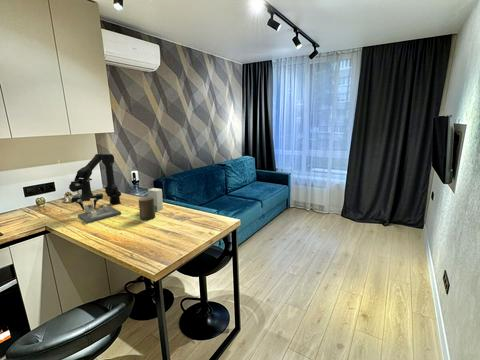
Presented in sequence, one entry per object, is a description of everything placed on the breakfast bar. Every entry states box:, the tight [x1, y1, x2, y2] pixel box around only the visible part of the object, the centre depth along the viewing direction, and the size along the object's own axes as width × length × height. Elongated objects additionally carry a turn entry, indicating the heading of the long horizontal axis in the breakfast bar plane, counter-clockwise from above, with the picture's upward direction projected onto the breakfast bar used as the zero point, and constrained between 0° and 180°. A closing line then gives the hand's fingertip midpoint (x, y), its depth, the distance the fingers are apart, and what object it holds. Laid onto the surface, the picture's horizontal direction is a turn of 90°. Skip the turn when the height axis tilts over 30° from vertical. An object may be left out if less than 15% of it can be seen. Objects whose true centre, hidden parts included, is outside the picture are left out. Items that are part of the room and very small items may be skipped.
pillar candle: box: [137, 195, 156, 221], centre depth 175 cm, size 10×10×15 cm
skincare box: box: [147, 187, 164, 212], centre depth 190 cm, size 8×7×16 cm
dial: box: [84, 203, 95, 214], centre depth 181 cm, size 6×3×6 cm, turn 2°
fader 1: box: [91, 211, 97, 218], centre depth 173 cm, size 2×3×4 cm
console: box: [77, 206, 122, 225], centre depth 181 cm, size 22×18×2 cm
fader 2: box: [102, 204, 109, 211], centre depth 184 cm, size 2×3×4 cm
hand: (89, 209), depth 181 cm, fingers open, 6 cm apart
